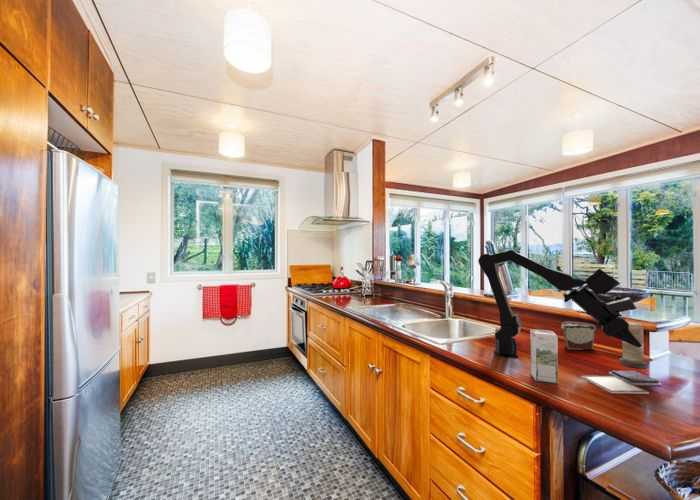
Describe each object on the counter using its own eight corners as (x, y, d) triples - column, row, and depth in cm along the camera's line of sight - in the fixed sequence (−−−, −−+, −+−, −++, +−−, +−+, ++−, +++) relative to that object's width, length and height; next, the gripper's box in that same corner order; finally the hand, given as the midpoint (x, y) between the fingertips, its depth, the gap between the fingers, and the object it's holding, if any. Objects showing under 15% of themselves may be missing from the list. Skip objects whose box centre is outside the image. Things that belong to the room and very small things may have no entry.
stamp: (627, 368, 84) (626, 325, 84) (614, 360, 90) (614, 321, 90) (652, 370, 82) (652, 327, 83) (638, 362, 88) (637, 322, 88)
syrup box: (551, 376, 88) (550, 329, 88) (558, 384, 82) (557, 334, 83) (530, 374, 90) (529, 328, 90) (535, 381, 84) (535, 332, 84)
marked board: (611, 393, 77) (611, 391, 77) (581, 377, 87) (581, 375, 87) (649, 393, 77) (648, 391, 77) (614, 377, 87) (614, 376, 87)
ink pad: (633, 385, 82) (633, 381, 82) (608, 373, 90) (608, 370, 90) (661, 385, 82) (661, 381, 82) (634, 374, 90) (634, 370, 90)
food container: (585, 345, 120) (585, 321, 120) (596, 349, 114) (596, 325, 114) (554, 344, 121) (554, 320, 121) (564, 348, 115) (563, 324, 115)
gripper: (617, 290, 82) (675, 335, 75) (611, 285, 96) (659, 323, 89) (582, 314, 87) (633, 358, 79) (581, 306, 101) (625, 343, 94)
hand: (639, 344), depth 85 cm, fingers closed on stamp, 5 cm apart
